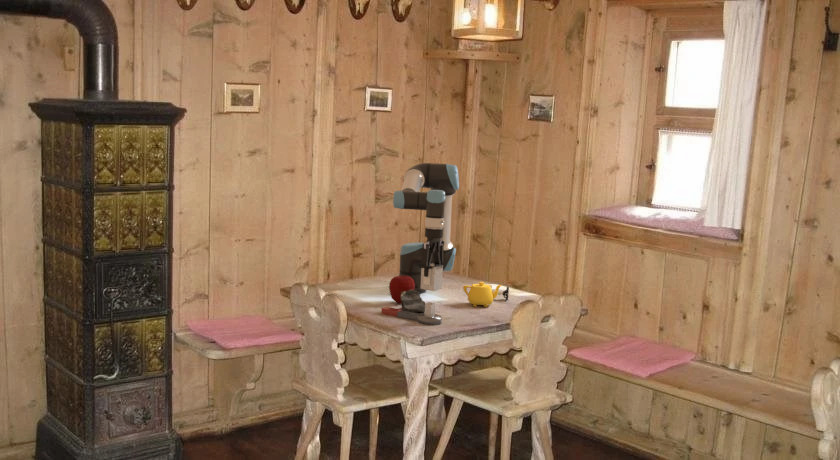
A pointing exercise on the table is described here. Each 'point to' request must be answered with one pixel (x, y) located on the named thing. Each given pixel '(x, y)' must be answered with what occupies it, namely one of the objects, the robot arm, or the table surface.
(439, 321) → the ratchet
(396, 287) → the apple
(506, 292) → the valve
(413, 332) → the table surface
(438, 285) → the grey upright rectangular block
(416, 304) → the rock
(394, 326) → the table surface
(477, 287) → the teapot
